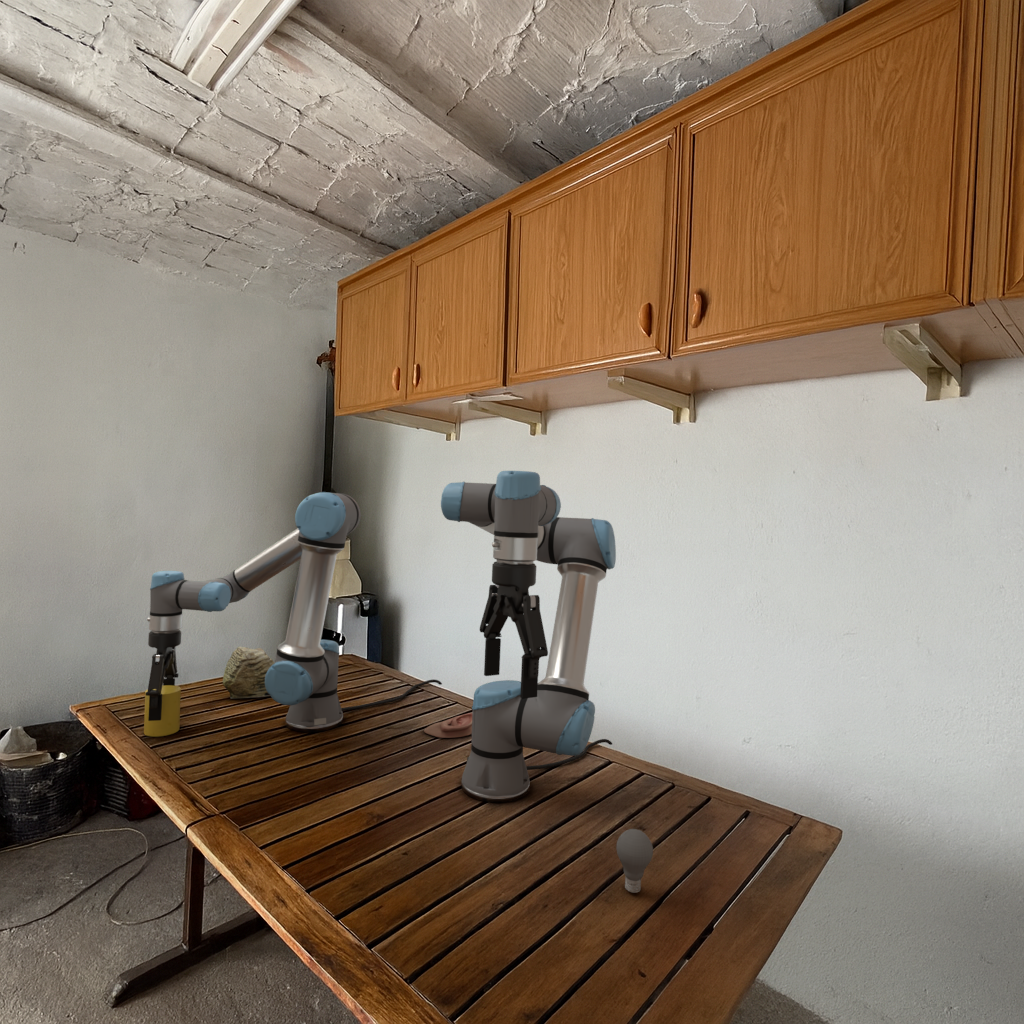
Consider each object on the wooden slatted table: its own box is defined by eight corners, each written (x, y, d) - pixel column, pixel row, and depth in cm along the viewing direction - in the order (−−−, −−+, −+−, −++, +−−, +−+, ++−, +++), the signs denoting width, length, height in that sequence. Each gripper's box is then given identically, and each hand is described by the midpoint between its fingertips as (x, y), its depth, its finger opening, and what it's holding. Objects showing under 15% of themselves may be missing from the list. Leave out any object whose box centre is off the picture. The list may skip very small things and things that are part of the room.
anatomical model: (420, 720, 170) (434, 707, 181) (419, 735, 170) (433, 721, 181) (467, 726, 167) (478, 712, 179) (467, 741, 167) (478, 726, 179)
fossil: (218, 695, 195) (220, 647, 195) (278, 685, 208) (279, 640, 207) (228, 703, 189) (230, 653, 188) (289, 692, 201) (290, 645, 201)
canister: (136, 734, 163) (137, 692, 163) (160, 723, 171) (162, 683, 171) (162, 738, 161) (164, 696, 161) (186, 727, 169) (188, 687, 169)
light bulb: (610, 879, 108) (613, 822, 108) (644, 879, 109) (647, 822, 109) (619, 902, 102) (622, 840, 102) (655, 901, 103) (658, 840, 103)
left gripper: (161, 620, 176) (158, 696, 177) (134, 641, 152) (131, 729, 153) (191, 620, 178) (187, 695, 179) (169, 641, 155) (165, 727, 155)
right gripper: (464, 554, 117) (460, 668, 117) (531, 570, 95) (525, 710, 95) (501, 554, 121) (496, 665, 121) (573, 569, 99) (567, 705, 99)
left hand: (161, 711), depth 166 cm, fingers open, 13 cm apart
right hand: (509, 685), depth 108 cm, fingers open, 13 cm apart
